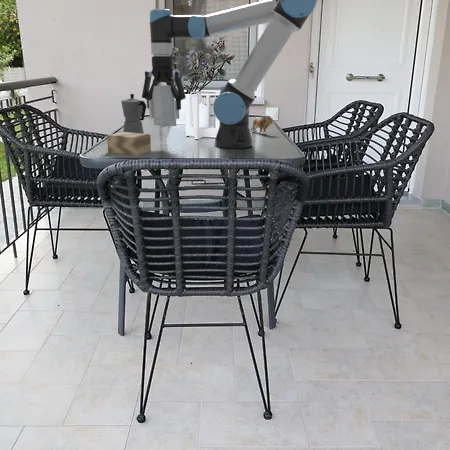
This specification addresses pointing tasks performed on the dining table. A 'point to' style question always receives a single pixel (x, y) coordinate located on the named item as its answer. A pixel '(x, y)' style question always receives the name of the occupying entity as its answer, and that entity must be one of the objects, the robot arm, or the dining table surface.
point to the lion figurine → (262, 123)
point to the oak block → (129, 143)
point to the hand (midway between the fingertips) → (164, 118)
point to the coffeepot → (133, 114)
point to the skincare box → (163, 106)
